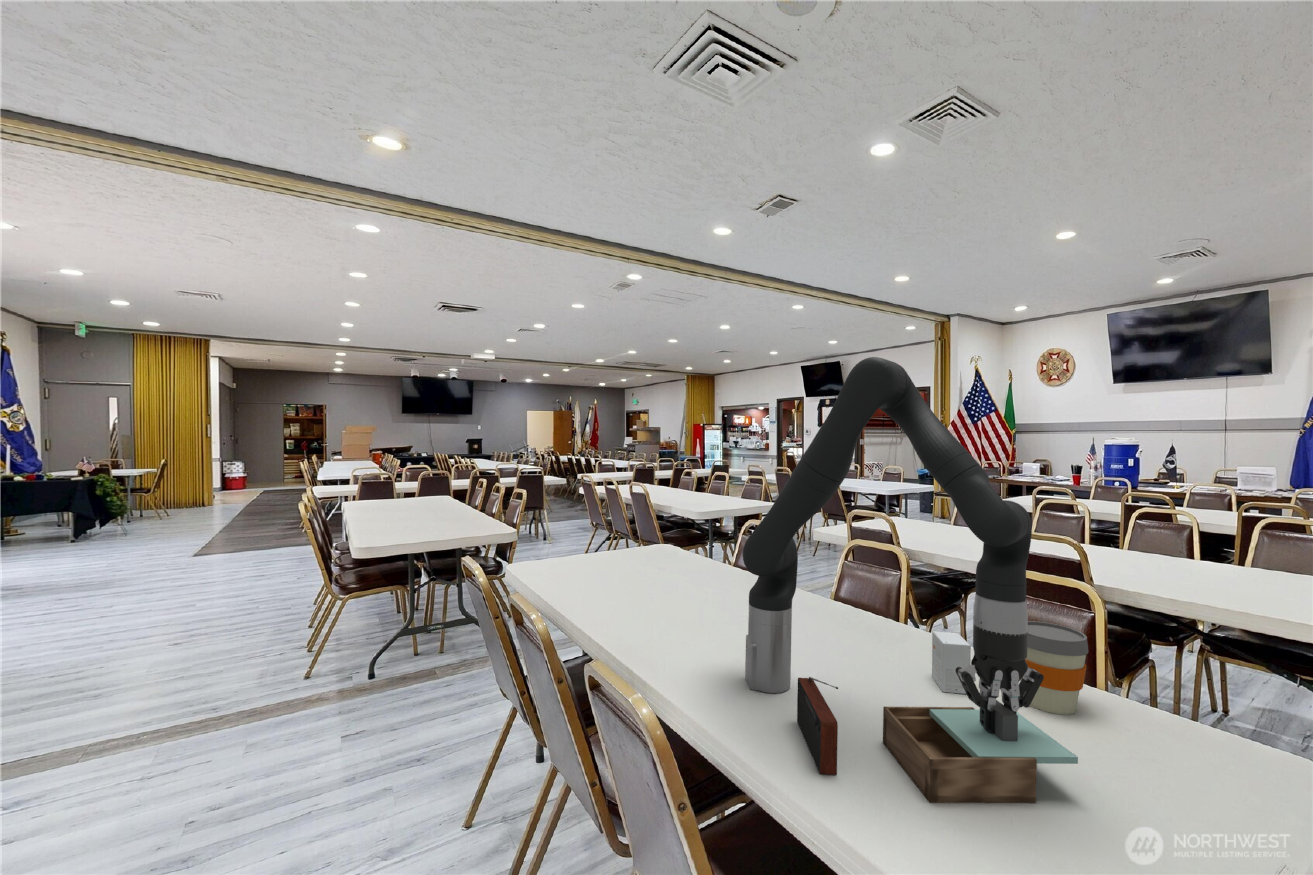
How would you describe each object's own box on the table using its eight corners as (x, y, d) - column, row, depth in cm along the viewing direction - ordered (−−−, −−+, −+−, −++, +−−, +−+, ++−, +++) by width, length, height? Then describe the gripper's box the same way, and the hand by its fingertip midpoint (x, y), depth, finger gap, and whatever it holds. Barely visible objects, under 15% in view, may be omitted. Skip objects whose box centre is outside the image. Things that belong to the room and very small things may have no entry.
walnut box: (929, 802, 82) (930, 759, 82) (882, 742, 98) (883, 706, 98) (1036, 802, 82) (1036, 759, 82) (972, 743, 98) (972, 707, 98)
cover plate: (978, 763, 83) (979, 729, 83) (929, 714, 97) (929, 686, 97) (1077, 763, 83) (1078, 730, 83) (1014, 715, 97) (1014, 687, 97)
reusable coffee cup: (1066, 724, 106) (1067, 645, 105) (999, 696, 117) (1000, 625, 117) (1100, 710, 111) (1101, 636, 111) (1033, 685, 122) (1035, 617, 122)
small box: (970, 695, 117) (971, 645, 117) (941, 692, 118) (942, 643, 118) (958, 679, 125) (958, 632, 125) (931, 676, 126) (932, 630, 126)
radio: (794, 722, 105) (796, 642, 105) (811, 722, 105) (812, 643, 105) (820, 783, 86) (822, 686, 86) (840, 784, 86) (842, 687, 86)
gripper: (970, 632, 86) (969, 743, 86) (1059, 632, 86) (1057, 744, 86) (944, 616, 94) (943, 719, 94) (1026, 617, 94) (1024, 719, 94)
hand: (998, 730), depth 90 cm, fingers closed on cover plate, 2 cm apart
